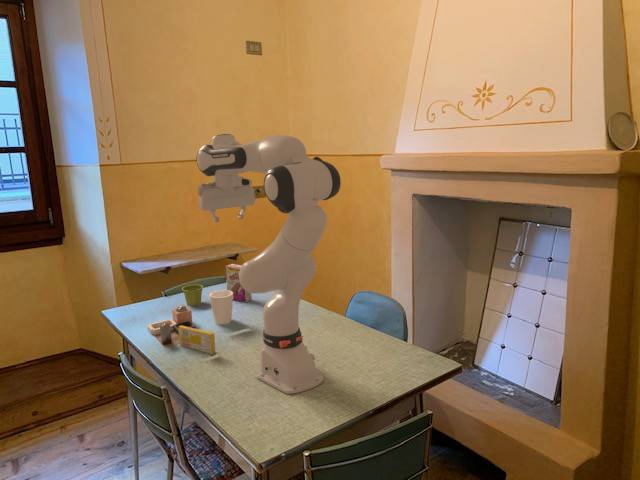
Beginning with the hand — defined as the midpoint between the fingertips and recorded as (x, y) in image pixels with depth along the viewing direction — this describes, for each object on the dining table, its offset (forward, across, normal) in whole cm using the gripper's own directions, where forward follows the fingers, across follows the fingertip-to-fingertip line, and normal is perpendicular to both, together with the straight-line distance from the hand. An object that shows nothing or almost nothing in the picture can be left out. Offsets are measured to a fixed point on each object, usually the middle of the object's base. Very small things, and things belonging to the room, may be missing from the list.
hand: (228, 220), depth 168 cm
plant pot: (+46, 0, +46) cm, 65 cm away
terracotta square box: (+46, -12, +25) cm, 54 cm away
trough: (+46, -21, +25) cm, 56 cm away
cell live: (+45, -23, +11) cm, 52 cm away
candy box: (+46, -16, 0) cm, 49 cm away
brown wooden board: (+46, -17, +18) cm, 52 cm away
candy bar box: (+46, +20, +40) cm, 64 cm away
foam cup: (+46, +2, +17) cm, 49 cm away
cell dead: (+45, -12, +25) cm, 53 cm away
